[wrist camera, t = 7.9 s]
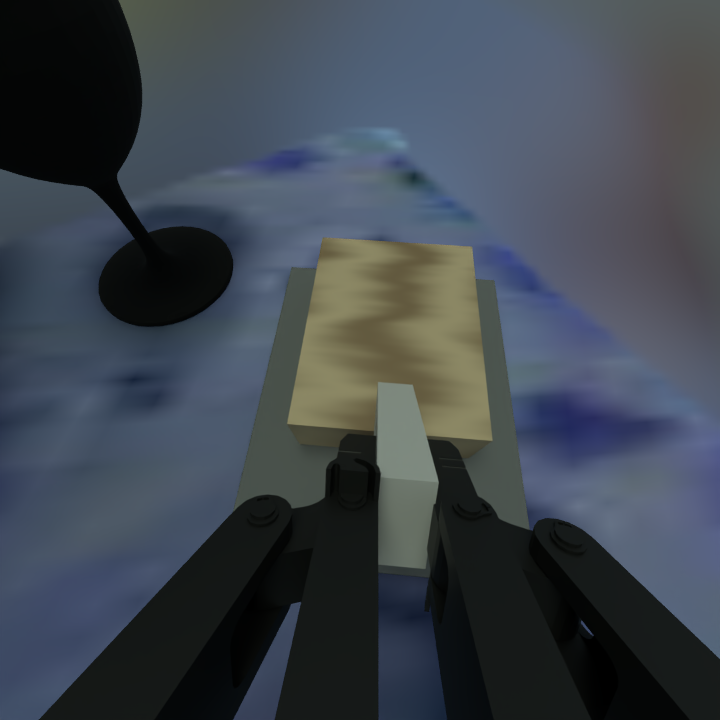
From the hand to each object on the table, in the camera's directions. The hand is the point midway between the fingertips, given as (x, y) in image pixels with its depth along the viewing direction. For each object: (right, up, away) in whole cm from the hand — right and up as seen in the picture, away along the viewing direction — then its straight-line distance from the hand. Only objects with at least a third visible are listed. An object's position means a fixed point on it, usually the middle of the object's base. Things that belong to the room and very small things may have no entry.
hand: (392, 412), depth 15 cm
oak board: (0, -2, +3) cm, 4 cm away
